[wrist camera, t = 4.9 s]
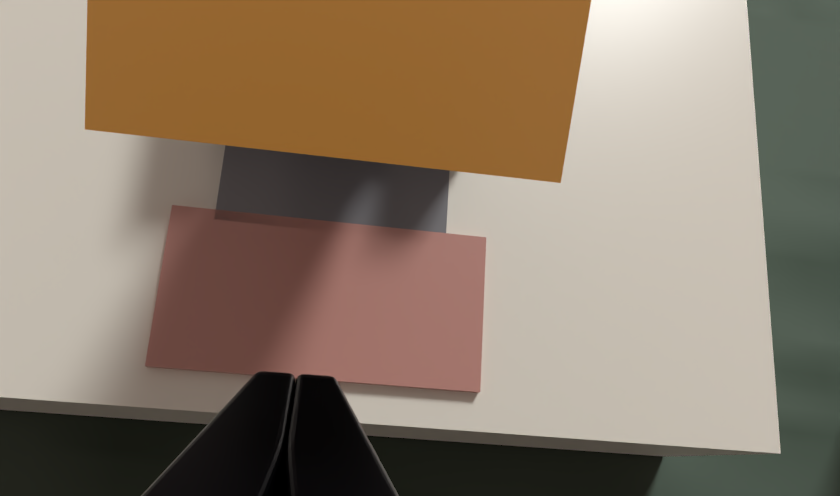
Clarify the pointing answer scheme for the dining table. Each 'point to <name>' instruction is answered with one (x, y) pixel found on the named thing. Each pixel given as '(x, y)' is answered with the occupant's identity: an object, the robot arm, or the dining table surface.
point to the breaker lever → (345, 78)
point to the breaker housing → (405, 258)
